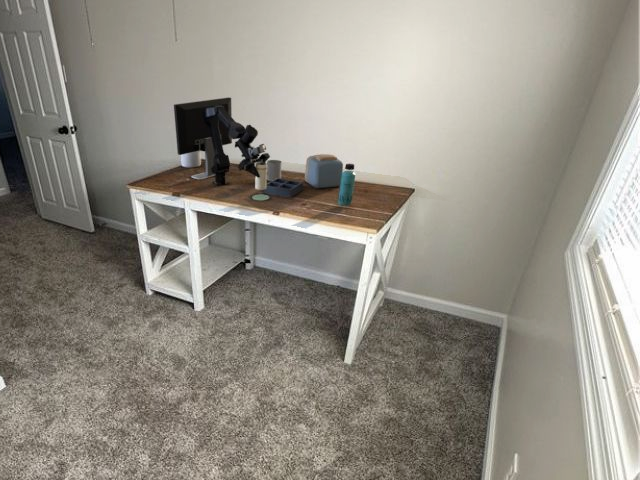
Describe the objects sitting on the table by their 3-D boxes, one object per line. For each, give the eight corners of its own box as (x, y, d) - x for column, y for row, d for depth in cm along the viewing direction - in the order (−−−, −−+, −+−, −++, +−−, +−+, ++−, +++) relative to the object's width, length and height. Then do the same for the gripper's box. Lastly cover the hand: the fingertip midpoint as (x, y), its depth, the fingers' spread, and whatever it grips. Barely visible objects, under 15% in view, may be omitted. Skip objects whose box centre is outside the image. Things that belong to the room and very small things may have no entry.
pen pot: (253, 187, 211) (253, 162, 204) (264, 186, 212) (264, 161, 206) (257, 190, 206) (257, 165, 200) (267, 189, 208) (268, 164, 201)
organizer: (263, 193, 218) (263, 185, 216) (276, 185, 229) (276, 177, 227) (290, 198, 211) (290, 189, 209) (302, 190, 223) (303, 181, 220)
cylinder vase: (202, 163, 272) (200, 122, 259) (199, 168, 261) (196, 125, 248) (183, 162, 273) (180, 121, 260) (179, 167, 262) (176, 125, 249)
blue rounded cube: (328, 178, 240) (331, 150, 232) (343, 186, 227) (346, 156, 218) (302, 181, 236) (305, 152, 227) (315, 189, 223) (318, 159, 214)
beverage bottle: (335, 204, 203) (340, 162, 193) (349, 203, 204) (354, 162, 193) (339, 208, 198) (344, 166, 187) (353, 208, 198) (359, 165, 188)
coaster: (248, 196, 214) (248, 196, 213) (263, 194, 217) (263, 193, 217) (257, 202, 207) (257, 201, 207) (272, 199, 210) (272, 198, 210)
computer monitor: (227, 166, 264) (226, 97, 243) (237, 169, 259) (236, 98, 238) (177, 180, 239) (170, 104, 218) (186, 183, 234) (181, 105, 213)
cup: (279, 182, 235) (280, 163, 230) (265, 181, 237) (265, 163, 231) (281, 177, 242) (282, 160, 237) (267, 177, 244) (267, 159, 238)
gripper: (242, 141, 193) (260, 170, 193) (267, 135, 205) (284, 162, 205) (230, 156, 202) (247, 183, 202) (255, 149, 214) (271, 175, 213)
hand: (263, 176), depth 205 cm, fingers closed on pen pot, 5 cm apart
